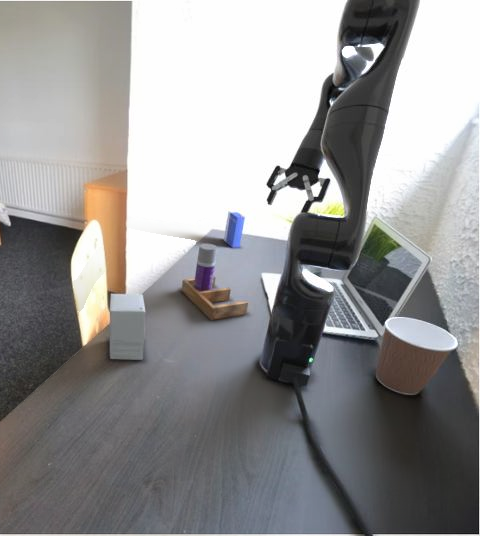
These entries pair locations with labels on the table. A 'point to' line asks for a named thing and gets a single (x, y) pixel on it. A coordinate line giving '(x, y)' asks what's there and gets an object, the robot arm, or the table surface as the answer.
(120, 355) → the white packaging box
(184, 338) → the table surface
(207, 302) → the caddy
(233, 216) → the walkman
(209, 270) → the container
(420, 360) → the coffee cup
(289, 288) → the robot arm
